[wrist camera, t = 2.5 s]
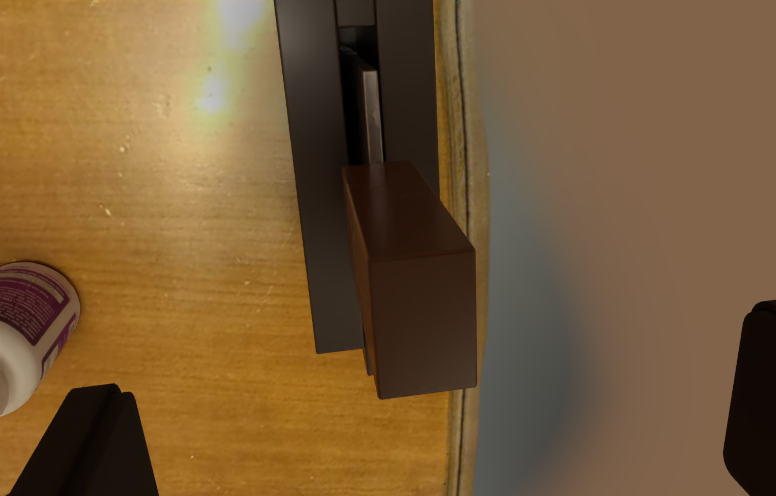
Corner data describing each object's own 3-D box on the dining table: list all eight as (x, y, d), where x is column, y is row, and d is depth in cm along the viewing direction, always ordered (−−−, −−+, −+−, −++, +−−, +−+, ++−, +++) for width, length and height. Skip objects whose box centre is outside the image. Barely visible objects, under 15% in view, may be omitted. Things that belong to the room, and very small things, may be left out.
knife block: (278, -33, 31) (266, -56, 18) (375, -39, 32) (431, -66, 19) (311, 247, 37) (319, 382, 24) (393, 239, 37) (445, 366, 24)
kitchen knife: (318, 46, 27) (355, 120, 10) (365, 42, 27) (475, 109, 11) (335, 223, 30) (386, 501, 13) (378, 219, 30) (479, 487, 14)
